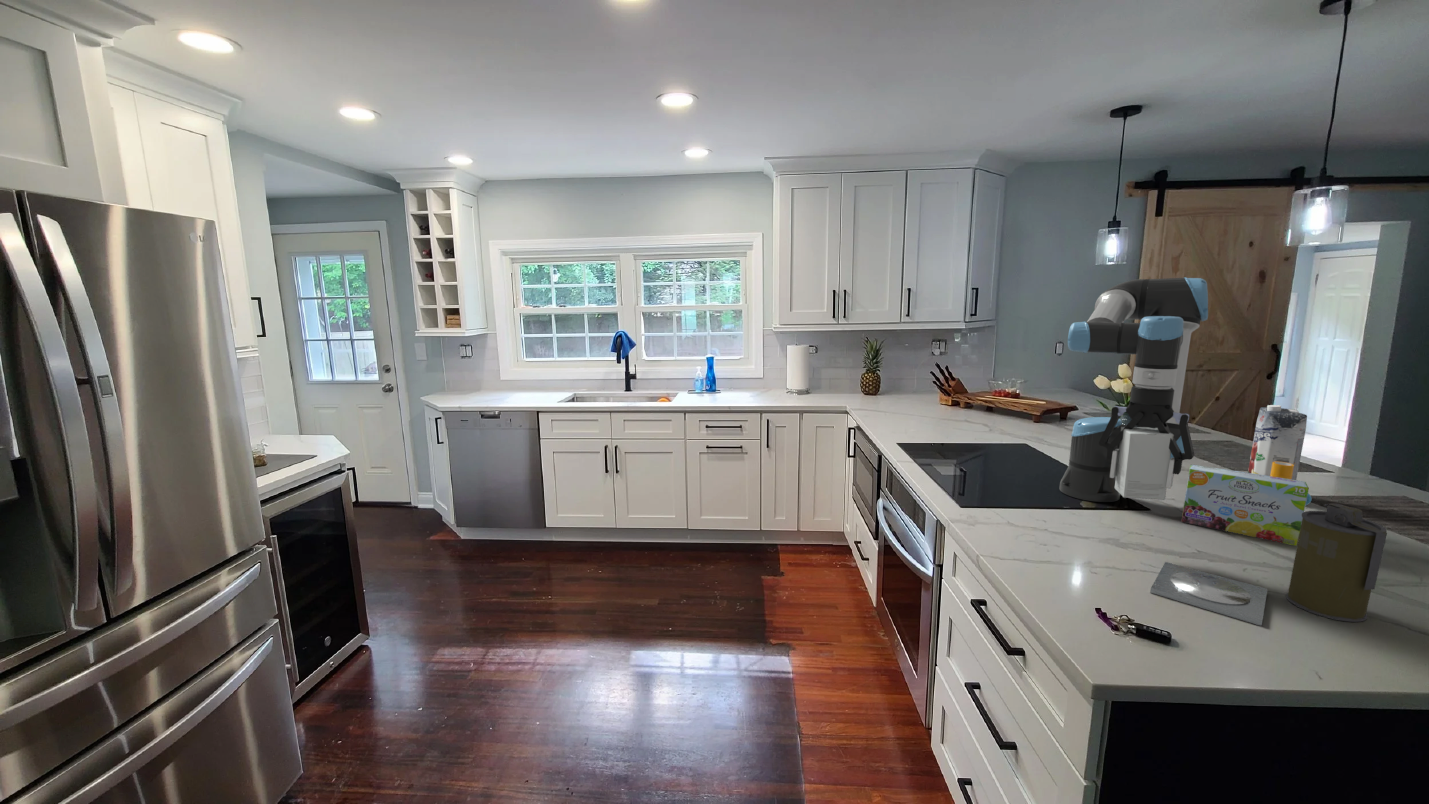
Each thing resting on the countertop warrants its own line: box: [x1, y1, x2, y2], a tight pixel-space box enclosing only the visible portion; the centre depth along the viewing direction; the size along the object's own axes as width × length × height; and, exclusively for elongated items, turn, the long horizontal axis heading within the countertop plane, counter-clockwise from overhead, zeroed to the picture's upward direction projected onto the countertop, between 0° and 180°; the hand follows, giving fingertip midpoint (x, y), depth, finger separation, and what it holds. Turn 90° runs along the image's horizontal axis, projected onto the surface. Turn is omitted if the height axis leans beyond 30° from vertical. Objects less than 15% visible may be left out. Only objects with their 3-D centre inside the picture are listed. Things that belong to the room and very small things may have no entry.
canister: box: [1285, 503, 1388, 623], centre depth 102 cm, size 11×10×20 cm
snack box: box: [1180, 464, 1310, 547], centre depth 137 cm, size 21×6×15 cm, turn 47°
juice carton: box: [1247, 404, 1308, 480], centre depth 160 cm, size 9×10×27 cm
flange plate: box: [1150, 561, 1268, 627], centre depth 110 cm, size 16×16×1 cm
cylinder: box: [1270, 461, 1312, 506], centre depth 145 cm, size 12×10×15 cm
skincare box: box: [1115, 427, 1174, 501], centre depth 126 cm, size 8×7×16 cm
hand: (1140, 481), depth 126 cm, fingers closed on skincare box, 10 cm apart
